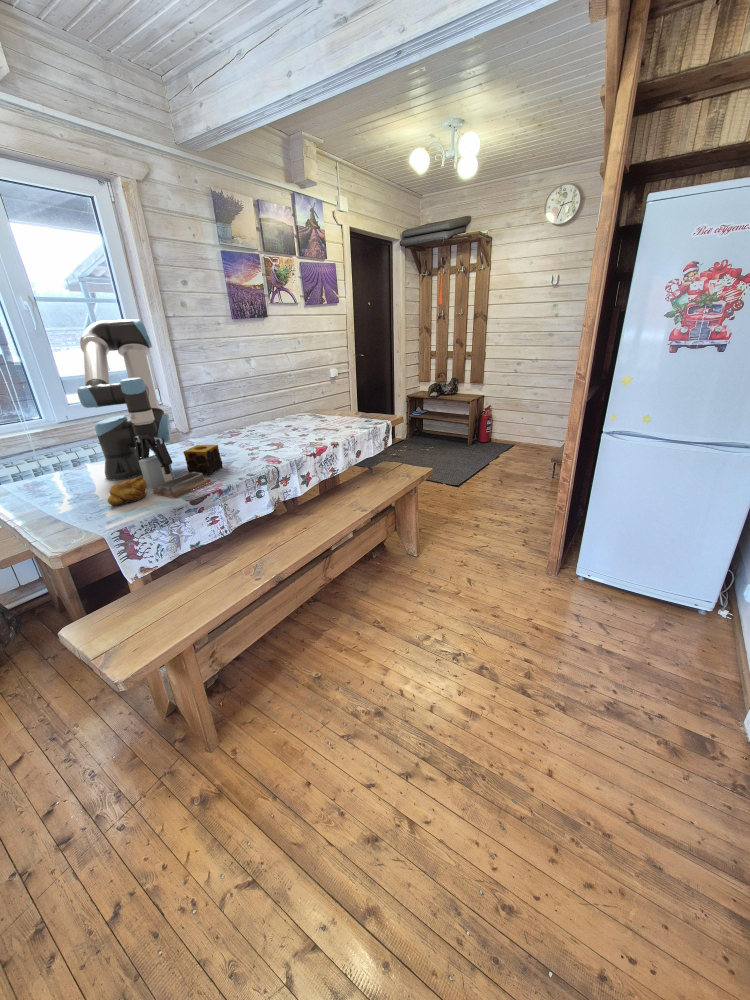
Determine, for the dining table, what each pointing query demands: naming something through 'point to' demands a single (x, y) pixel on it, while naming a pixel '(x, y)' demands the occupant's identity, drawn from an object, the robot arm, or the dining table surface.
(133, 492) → the bread roll
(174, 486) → the track
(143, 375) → the robot arm
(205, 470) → the candle
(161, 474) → the grey upright block
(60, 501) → the dining table surface
